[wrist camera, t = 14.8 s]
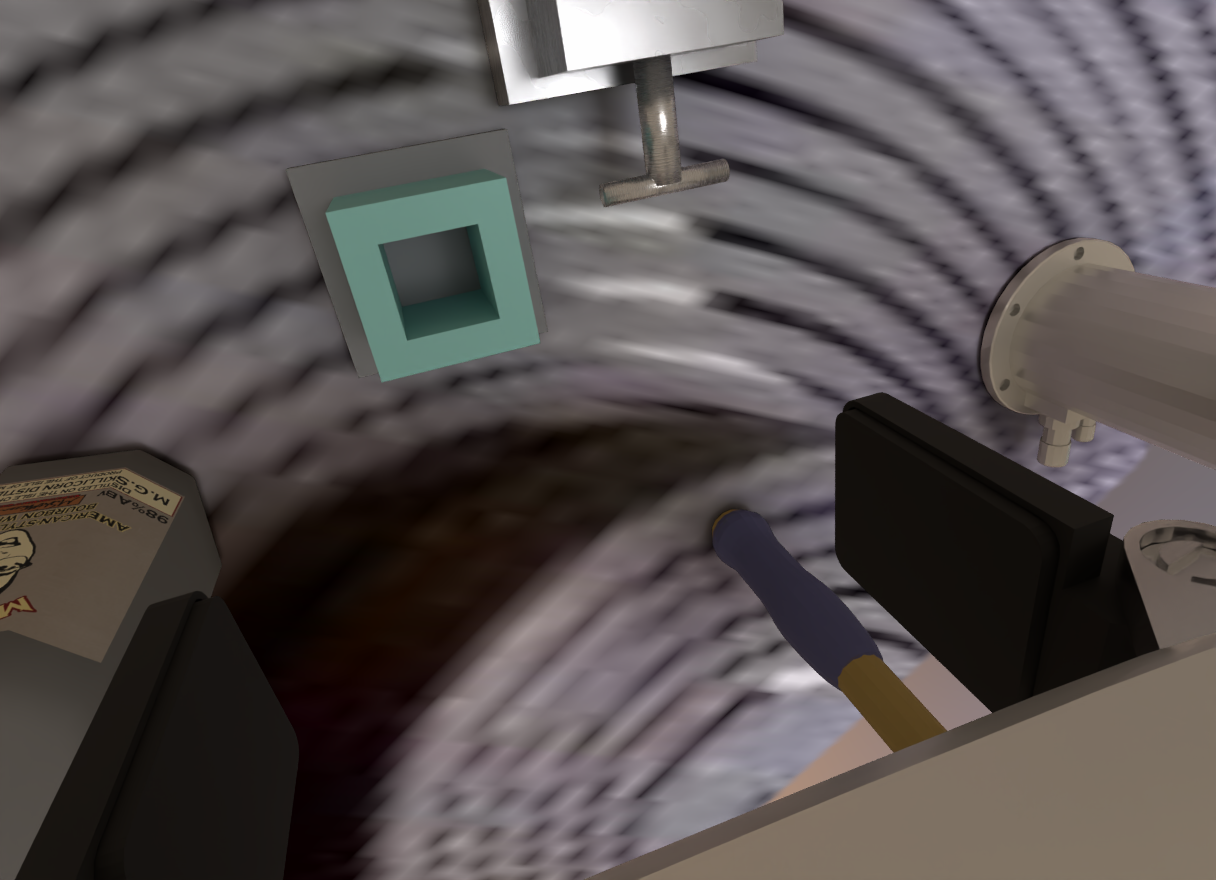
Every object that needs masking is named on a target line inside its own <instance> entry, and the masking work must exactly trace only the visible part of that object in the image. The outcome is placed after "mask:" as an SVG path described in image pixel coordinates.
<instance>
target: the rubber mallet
mask: <svg viewBox="0 0 1216 880" xmlns="http://www.w3.org/2000/svg"><path fill="white" fill-rule="evenodd" d="M712 536H713V547H714V549H715V551H716V554H717V556H718V557H719V558H720V559H721V560H722V561H723V562H724V563H725V564H727V565H728V566H730V567H731V568H733V569H735V570H736V571H737V572H738V573H739V574H740V576H741V577H742V578H743V579H744V580H745V582H746V583H747V584H748V585H749V587H750V588H751V589H752V590H753V591H754V593H755V594H756V595H757V596H758V598H759V599H760V600H761V601H762V603H763V604H764V606H765V607H766V609H767V611H768V612H769V614H770V616H771V618H772V619H773V621H774V623H775V625H776V626H777V628H778V629H779V631H780V632H781V634H782V635H783V636H784V637H785V639H786V640H787V641H788V642H789V643H790V645H791V646H792V647H793V648H794V649H795V650H796V651H797V653H798V654H799V655H800V656H801V657H802V658H803V659H804V660H805V661H806V662H807V663H808V664H809V665H810V666H811V667H812V668H813V669H814V670H815V671H816V672H817V673H818V674H819V675H820V676H821V677H823V678H824V679H825V680H826V681H827V682H828V683H830V684H831V685H833V686H834V687H836V688H837V689H839V690H840V691H842V692H843V693H844V694H845V695H846V697H847V698H848V699H849V700H850V701H851V702H852V704H853V705H854V706H855V707H856V708H857V710H858V711H859V712H860V713H861V714H862V716H863V717H864V718H865V719H866V720H867V721H868V723H869V724H870V725H871V726H872V727H873V729H874V730H875V731H876V732H877V733H878V735H879V736H880V737H881V738H882V739H883V740H884V742H885V743H886V744H887V745H888V746H889V748H890V749H891V750H892V751H893V752H894V753H895V752H897V751H899V750H902V749H904V748H907V747H909V746H912V745H914V744H917V743H919V742H922V741H924V740H927V739H929V738H932V737H934V736H937V735H939V734H942V733H944V732H947V730H946V729H945V728H944V727H943V726H942V725H941V724H940V723H939V722H938V720H937V719H936V718H935V717H934V716H933V715H932V714H931V713H930V712H929V711H928V710H927V709H926V707H924V705H923V704H922V703H921V702H920V701H919V700H918V699H917V698H916V697H915V696H914V695H913V693H912V692H911V691H910V690H909V689H908V688H907V687H906V686H905V685H904V684H903V682H902V681H901V680H900V679H899V678H898V677H897V676H896V675H895V674H894V673H893V672H892V671H891V669H890V668H889V667H888V666H887V665H886V664H885V663H884V662H883V658H882V656H881V653H880V651H879V649H878V647H877V645H876V644H875V642H874V641H873V639H872V638H871V636H870V635H869V633H868V632H867V631H866V630H865V628H864V627H863V626H862V625H861V623H860V622H859V621H858V619H857V618H856V617H855V616H854V614H853V613H852V612H851V611H850V610H849V608H848V607H847V606H846V605H845V604H844V603H843V602H842V601H841V600H840V599H839V597H838V596H837V595H836V594H835V593H834V592H832V591H831V590H830V589H829V588H828V587H827V586H826V585H825V584H823V583H822V582H821V581H819V580H818V579H817V578H816V577H814V576H813V575H812V574H810V573H809V572H808V571H806V570H805V569H804V568H803V567H802V566H801V565H800V564H799V563H798V562H797V561H796V560H795V559H794V558H793V557H792V556H791V555H790V554H789V552H788V551H787V550H786V549H785V548H784V547H783V546H782V545H781V544H780V543H779V542H778V541H777V539H776V538H775V536H774V535H773V533H772V531H771V529H770V526H769V524H768V523H767V522H766V521H765V519H764V518H763V517H762V516H760V515H759V514H758V513H755V512H751V511H747V510H740V509H731V510H729V511H727V512H724V513H722V514H721V515H720V516H719V517H718V518H717V519H716V520H715V523H714V525H713V528H712Z"/></svg>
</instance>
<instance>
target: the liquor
mask: <svg viewBox="0 0 1216 880" xmlns="http://www.w3.org/2000/svg"><path fill="white" fill-rule="evenodd" d="M221 566H222V564H221V561H220V557H219V554H218V551H217V548H216V545H215V542H214V539H213V536H212V532H211V529H210V526H209V523H208V520H207V517H206V514H205V511H204V507H203V504H202V501H201V498H200V495H199V492H198V489H197V486H196V482H195V479H194V478H193V477H192V476H190V475H188V474H186V473H185V472H183V471H181V470H179V469H177V468H175V467H173V466H171V465H169V464H167V463H165V462H163V461H161V460H159V459H157V458H155V457H154V456H152V455H150V454H148V453H146V452H144V451H142V450H131V451H124V452H116V453H108V454H101V455H93V456H85V457H77V458H70V459H62V460H54V461H47V462H39V463H31V464H23V465H16V466H9V467H8V468H7V469H5V470H4V471H3V472H2V473H1V474H0V880H15V878H16V876H17V874H18V872H19V870H20V868H21V866H22V864H23V862H24V860H25V857H26V855H27V853H28V851H29V849H30V847H31V845H32V843H33V841H34V839H35V837H36V835H37V833H38V831H39V829H40V827H41V825H42V822H43V820H44V818H45V816H46V814H47V812H48V810H49V808H50V806H51V804H52V802H53V800H54V798H55V796H56V794H57V792H58V790H59V788H60V785H61V783H62V781H63V779H64V777H65V775H66V773H67V771H68V769H69V767H70V765H71V763H72V761H73V759H74V757H75V755H76V753H77V750H78V748H79V746H80V744H81V742H82V740H83V738H84V736H85V734H86V732H87V730H88V728H89V726H90V724H91V722H92V720H93V718H94V715H95V713H96V711H97V709H98V707H99V705H100V703H101V701H102V699H103V697H104V695H105V693H106V691H107V689H108V687H109V685H110V683H111V680H112V678H113V676H114V674H115V672H116V670H117V668H118V666H119V664H120V662H121V660H122V658H123V656H124V654H125V652H126V650H127V648H128V646H129V643H130V641H131V639H132V637H133V635H134V633H135V631H136V629H137V627H138V625H139V623H140V621H141V619H142V617H143V615H144V613H145V611H146V609H147V608H148V606H149V605H151V604H153V603H156V602H160V601H163V600H166V599H170V598H173V597H177V596H180V595H184V594H187V593H191V592H194V591H201V592H203V593H204V594H205V595H206V596H207V597H208V598H211V595H212V592H213V589H214V586H215V583H216V580H217V577H218V574H219V571H220V569H221Z"/></svg>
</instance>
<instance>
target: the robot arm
mask: <svg viewBox="0 0 1216 880" xmlns="http://www.w3.org/2000/svg"><path fill="white" fill-rule="evenodd" d="M981 372H982V378H983V381H984V384H985V386H986V388H987V391H988V392H989V393H990V395H991V396H992V397H993V399H994V400H995V401H997V402H998V403H999V404H1001V405H1002V406H1004V407H1006V408H1008V409H1011V410H1013V411H1015V412H1017V413H1022V414H1027V415H1033V414H1039V420H1038V421H1039V423H1040V424H1041V425H1042V426H1044V429H1043V435H1042V436H1041V439H1040V444H1039V450H1038V456H1037V460H1038V462H1039V463H1041V464H1043V465H1045V466H1050V467H1062V466H1065V465H1066V464H1067V463H1068V458H1069V453H1070V447H1071V440H1070V439H1071V438H1073V439H1074V440H1077V441H1081V442H1088V441H1091V440H1093V437H1094V432H1095V427H1096V422H1095V421H1097V422H1100V423H1102V424H1104V425H1107V426H1109V427H1112V428H1114V429H1117V430H1119V431H1121V432H1124V433H1126V434H1129V435H1131V436H1133V437H1136V438H1138V439H1141V440H1143V441H1146V442H1148V443H1150V444H1153V445H1155V446H1158V447H1160V448H1163V449H1165V450H1167V451H1170V452H1172V453H1175V454H1177V455H1180V456H1182V457H1184V458H1187V459H1189V460H1192V461H1194V462H1197V463H1199V464H1201V465H1204V466H1206V467H1209V468H1211V469H1214V470H1216V288H1213V287H1208V286H1203V285H1198V284H1193V283H1188V282H1183V281H1178V280H1173V279H1168V278H1163V277H1158V276H1152V275H1147V274H1142V273H1137V272H1135V271H1134V267H1133V265H1132V263H1131V261H1130V259H1129V257H1128V255H1127V254H1126V253H1125V252H1124V251H1123V250H1122V249H1121V248H1120V247H1118V246H1116V245H1115V244H1113V243H1111V242H1108V241H1103V240H1098V239H1093V238H1076V239H1071V240H1066V241H1063V242H1061V243H1058V244H1056V245H1054V246H1051V247H1050V248H1048V249H1047V250H1045V251H1043V252H1042V253H1040V254H1039V255H1037V256H1036V257H1035V258H1033V259H1032V260H1031V261H1030V262H1029V263H1028V264H1027V265H1026V266H1024V267H1023V268H1022V269H1021V270H1020V271H1019V273H1018V274H1017V275H1016V276H1015V277H1014V278H1013V279H1012V281H1011V282H1010V283H1009V284H1008V286H1007V287H1006V289H1005V290H1004V292H1003V293H1002V295H1001V296H1000V298H999V299H998V301H997V303H996V305H995V307H994V309H993V311H992V313H991V315H990V318H989V320H988V323H987V326H986V329H985V332H984V336H983V342H982V347H981ZM1113 517H1114V515H1113V514H1111V513H1109V512H1107V511H1105V510H1103V509H1102V508H1100V507H1098V506H1096V505H1094V504H1092V503H1090V502H1088V501H1087V500H1085V499H1083V498H1081V497H1079V496H1077V495H1075V494H1074V493H1072V492H1070V491H1068V490H1066V489H1064V488H1062V487H1060V486H1059V485H1057V484H1055V483H1053V482H1051V481H1049V480H1047V479H1046V478H1044V477H1042V476H1040V475H1038V474H1036V473H1034V472H1032V471H1031V470H1029V469H1027V468H1025V467H1023V466H1021V465H1019V464H1017V463H1016V462H1014V461H1012V460H1010V459H1008V458H1006V457H1004V456H1003V455H1001V454H999V453H997V452H995V451H993V450H991V449H989V448H988V447H986V446H984V445H982V444H980V443H978V442H976V441H975V440H973V439H971V438H969V437H967V436H965V435H963V434H961V433H960V432H958V431H956V430H954V429H952V428H950V427H948V426H946V425H945V424H943V423H941V422H939V421H937V420H935V419H933V418H932V417H930V416H928V415H926V414H924V413H922V412H920V411H918V410H917V409H915V408H913V407H911V406H909V405H907V404H905V403H904V402H902V401H900V400H898V399H896V398H894V397H892V396H890V395H889V394H886V393H883V392H881V393H876V394H873V395H869V396H866V397H862V398H859V399H856V400H852V401H849V402H848V403H846V404H845V406H844V409H843V413H840V414H839V415H838V416H837V418H836V424H835V551H836V555H837V558H838V560H839V563H840V564H841V566H842V567H843V569H844V570H845V571H846V572H847V573H848V574H849V575H850V576H851V577H852V578H853V579H854V580H855V581H856V582H857V583H859V584H860V585H861V586H862V587H863V588H864V589H865V590H866V591H867V592H868V593H869V594H870V595H871V596H872V597H873V598H874V599H875V600H876V601H877V602H878V603H879V604H880V605H881V606H882V607H883V608H884V609H885V610H886V611H887V612H889V613H890V614H891V615H892V616H893V617H894V618H895V619H896V620H897V621H898V622H899V623H900V624H901V625H902V626H903V627H904V628H905V629H906V630H907V631H908V632H909V633H910V634H911V635H912V636H913V637H914V638H915V639H916V640H918V641H919V642H920V643H921V644H922V645H923V646H924V647H925V648H926V649H927V650H928V651H929V652H930V653H931V654H932V655H933V656H934V657H935V658H936V659H937V660H939V662H940V663H941V664H942V665H943V666H944V667H946V668H947V669H948V670H949V671H950V672H951V673H952V674H953V675H954V676H955V677H956V678H957V679H958V680H959V681H960V682H961V683H962V684H963V685H964V686H965V687H966V688H967V689H968V690H969V691H970V692H971V693H972V694H974V696H975V697H977V698H978V699H979V700H980V701H981V702H982V703H983V704H984V705H985V706H986V707H987V708H988V709H989V710H990V711H991V712H992V713H991V714H989V715H987V716H984V717H981V718H979V719H976V720H974V721H972V722H969V723H967V724H964V725H962V726H959V727H957V728H954V729H952V730H949V731H947V732H944V733H942V734H939V735H937V736H934V737H932V738H929V739H927V740H924V741H922V742H919V743H917V744H914V745H912V746H909V747H907V748H904V749H902V750H899V751H897V752H895V753H892V754H890V755H887V756H885V757H882V758H880V759H877V760H875V761H872V762H870V763H867V764H865V765H862V766H860V767H857V768H855V769H852V770H850V771H848V772H845V773H843V774H840V775H838V776H836V777H833V778H830V779H828V780H826V781H823V782H821V783H818V784H816V785H813V786H811V787H808V788H806V789H803V790H801V791H799V792H796V793H794V794H791V795H789V796H786V797H784V798H781V799H779V800H777V801H774V802H772V803H769V804H767V805H764V806H762V807H759V808H757V809H754V810H752V811H750V812H747V813H745V814H742V815H740V816H737V817H735V818H732V819H730V820H728V821H725V822H723V823H720V824H718V825H715V826H713V827H711V828H708V829H706V830H703V831H701V832H698V833H696V834H694V835H691V836H689V837H686V838H684V839H681V840H679V841H676V842H674V843H672V844H669V845H667V846H664V847H662V848H659V849H657V850H655V851H652V852H650V853H647V854H645V855H642V856H640V857H637V858H635V859H633V860H630V861H628V862H625V863H623V864H620V865H618V866H616V867H613V868H611V869H608V870H606V871H604V872H601V873H599V874H596V875H594V876H592V877H589V878H587V879H584V880H1216V526H1212V525H1209V524H1205V523H1198V522H1191V521H1185V520H1156V521H1150V522H1144V523H1141V524H1139V525H1137V526H1135V527H1133V528H1131V529H1130V530H1129V531H1128V532H1127V534H1126V535H1125V536H1124V539H1123V541H1122V540H1120V539H1119V538H1117V537H1115V536H1113V535H1112V534H1110V530H1111V525H1112V521H1113ZM298 760H299V747H298V741H297V737H296V734H295V732H294V729H293V727H292V725H291V724H290V722H289V720H288V718H287V716H286V714H285V713H284V711H283V709H282V707H281V705H280V703H279V701H278V700H277V698H276V696H275V694H274V692H273V690H272V689H271V687H270V685H269V683H268V681H267V679H266V677H265V676H264V674H263V672H262V670H261V668H260V666H259V665H258V663H257V661H256V659H255V657H254V655H253V653H252V652H251V650H250V648H249V646H248V644H247V642H246V640H245V639H244V637H243V635H242V633H241V631H240V629H239V628H238V626H237V624H236V622H235V620H234V618H233V616H232V615H231V613H230V611H229V609H228V607H227V605H226V604H225V602H224V601H223V600H222V599H221V598H220V597H218V596H215V597H212V598H208V597H207V596H206V595H205V594H204V593H203V592H201V591H194V592H191V593H187V594H184V595H180V596H177V597H173V598H170V599H166V600H163V601H160V602H156V603H153V604H151V605H149V606H148V608H147V609H146V611H145V613H144V615H143V617H142V619H141V621H140V623H139V625H138V627H137V629H136V631H135V633H134V635H133V637H132V639H131V641H130V643H129V646H128V648H127V650H126V652H125V654H124V656H123V658H122V660H121V662H120V664H119V666H118V668H117V670H116V672H115V674H114V676H113V678H112V680H111V683H110V685H109V687H108V689H107V691H106V693H105V695H104V697H103V699H102V701H101V703H100V705H99V707H98V709H97V711H96V713H95V715H94V718H93V720H92V722H91V724H90V726H89V728H88V730H87V732H86V734H85V736H84V738H83V740H82V742H81V744H80V746H79V748H78V750H77V753H76V755H75V757H74V759H73V761H72V763H71V765H70V767H69V769H68V771H67V773H66V775H65V777H64V779H63V781H62V783H61V785H60V788H59V790H58V792H57V794H56V796H55V798H54V800H53V802H52V804H51V806H50V808H49V810H48V812H47V814H46V816H45V818H44V820H43V822H42V825H41V827H40V829H39V831H38V833H37V835H36V837H35V839H34V841H33V843H32V845H31V847H30V849H29V851H28V853H27V855H26V857H25V860H24V862H23V864H22V866H21V868H20V870H19V872H18V874H17V876H16V878H15V880H283V874H284V866H285V859H286V851H287V844H288V836H289V828H290V821H291V813H292V806H293V798H294V790H295V783H296V775H297V768H298Z"/></svg>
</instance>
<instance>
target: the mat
mask: <svg viewBox="0 0 1216 880" xmlns="http://www.w3.org/2000/svg"><path fill="white" fill-rule="evenodd" d="M480 169H487V170H489V171H491V172H494V173H496V174H499V175H501V176H503V177H506V180H507V185H508V190H509V194H510V199H511V204H512V209H513V214H514V218H515V223H516V228H517V233H518V238H519V242H520V247H521V252H522V257H523V262H524V267H525V271H526V276H527V281H528V286H529V291H530V295H531V300H532V305H533V310H534V315H535V319H536V324H537V329H538V334H540V333H544V332H548V329H547V324H546V319H545V314H544V309H543V304H542V299H541V294H540V289H539V284H538V279H537V274H536V270H535V265H534V260H533V255H532V250H531V245H530V240H529V235H528V230H527V225H526V220H525V215H524V210H523V206H522V201H521V196H520V191H519V186H518V181H517V176H516V171H515V166H514V161H513V156H512V151H511V146H510V141H509V137H508V132H507V129H500V130H495V131H489V132H484V133H478V134H473V135H467V136H462V137H456V138H451V139H445V140H440V141H434V142H429V143H423V144H418V145H412V146H407V147H402V148H396V149H391V150H385V151H380V152H374V153H369V154H363V155H358V156H352V157H347V158H341V159H336V160H330V161H325V162H319V163H314V164H308V165H303V166H297V167H292V168H287V169H286V172H287V175H288V178H289V181H290V184H291V187H292V190H293V192H294V195H295V198H296V201H297V204H298V207H299V209H300V212H301V215H302V218H303V221H304V224H305V226H306V229H307V232H308V235H309V238H310V241H311V244H312V246H313V249H314V252H315V255H316V258H317V261H318V263H319V266H320V269H321V272H322V275H323V278H324V280H325V283H326V286H327V289H328V292H329V295H330V298H331V300H332V303H333V306H334V309H335V312H336V315H337V317H338V320H339V323H340V326H341V329H342V332H343V334H344V337H345V340H346V343H347V346H348V349H349V352H350V354H351V357H352V360H353V363H354V366H355V369H356V371H357V374H358V377H359V378H362V377H366V376H370V375H374V374H378V373H379V372H378V369H377V366H376V363H375V360H374V357H373V354H372V351H371V348H370V345H369V342H368V339H367V336H366V333H365V330H364V327H363V324H362V321H361V318H360V315H359V312H358V309H357V306H356V303H355V300H354V297H353V294H352V291H351V288H350V285H349V282H348V279H347V276H346V273H345V270H344V267H343V264H342V261H341V258H340V255H339V252H338V249H337V246H336V243H335V240H334V237H333V234H332V231H331V228H330V225H329V222H328V219H327V216H326V211H327V209H328V207H329V205H330V203H331V201H332V200H333V198H334V197H339V196H344V195H349V194H354V193H360V192H365V191H370V190H375V189H381V188H386V187H391V186H396V185H402V184H407V183H412V182H417V181H423V180H428V179H433V178H438V177H444V176H449V175H454V174H459V173H465V172H470V171H475V170H480ZM383 245H384V249H385V252H386V255H387V259H388V262H389V265H390V269H391V272H392V275H393V279H394V282H395V285H396V289H397V292H398V295H399V299H400V302H401V305H402V307H404V306H408V305H413V304H417V303H422V302H426V301H430V300H435V299H439V298H444V297H448V296H452V295H457V294H461V293H466V292H470V291H474V290H479V289H481V287H480V282H479V278H478V274H477V270H476V266H475V262H474V258H473V253H472V249H471V245H470V241H469V237H468V233H467V229H466V226H465V227H460V228H456V229H451V230H446V231H441V232H436V233H431V234H427V235H422V236H417V237H412V238H407V239H402V240H398V241H393V242H388V243H383Z"/></svg>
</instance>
